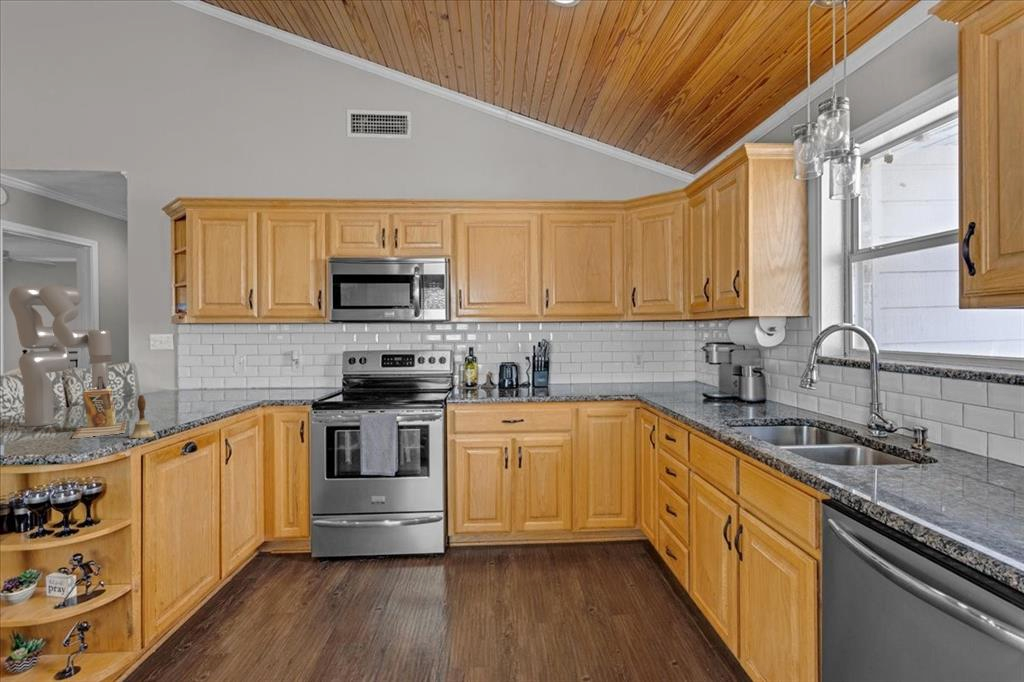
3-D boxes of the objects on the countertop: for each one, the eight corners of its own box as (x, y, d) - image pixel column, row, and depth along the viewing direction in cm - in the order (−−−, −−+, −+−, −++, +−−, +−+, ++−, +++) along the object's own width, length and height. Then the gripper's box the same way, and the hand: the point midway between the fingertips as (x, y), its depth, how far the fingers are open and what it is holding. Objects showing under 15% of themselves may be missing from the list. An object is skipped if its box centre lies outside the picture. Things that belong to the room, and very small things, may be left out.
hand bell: (160, 434, 213) (158, 393, 212) (146, 438, 205) (144, 396, 204) (138, 434, 213) (137, 393, 212) (124, 439, 205) (122, 397, 204)
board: (79, 429, 224) (79, 426, 223) (127, 425, 232) (126, 421, 232) (72, 439, 205) (72, 435, 205) (124, 433, 214) (124, 430, 214)
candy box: (116, 421, 228) (112, 387, 224) (114, 426, 224) (109, 391, 220) (90, 423, 224) (85, 389, 220) (87, 428, 221) (82, 393, 216)
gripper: (90, 359, 229) (92, 402, 229) (87, 361, 216) (89, 407, 217) (112, 358, 233) (114, 401, 234) (110, 360, 220) (112, 405, 221)
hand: (102, 403), depth 225 cm, fingers closed
